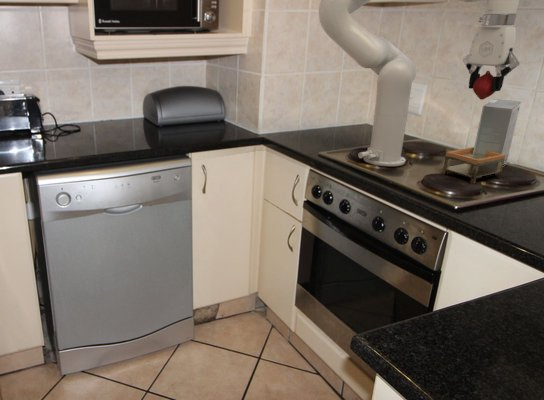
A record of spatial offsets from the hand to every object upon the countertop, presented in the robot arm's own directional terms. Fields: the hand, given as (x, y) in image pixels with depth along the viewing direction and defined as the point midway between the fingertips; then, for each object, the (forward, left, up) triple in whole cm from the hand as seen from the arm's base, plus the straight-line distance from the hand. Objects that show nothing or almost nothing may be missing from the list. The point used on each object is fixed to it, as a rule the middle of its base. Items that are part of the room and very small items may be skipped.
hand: (484, 89), depth 135 cm
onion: (0, 0, -3) cm, 3 cm away
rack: (-1, -2, -25) cm, 25 cm away
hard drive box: (+12, +1, -25) cm, 28 cm away
